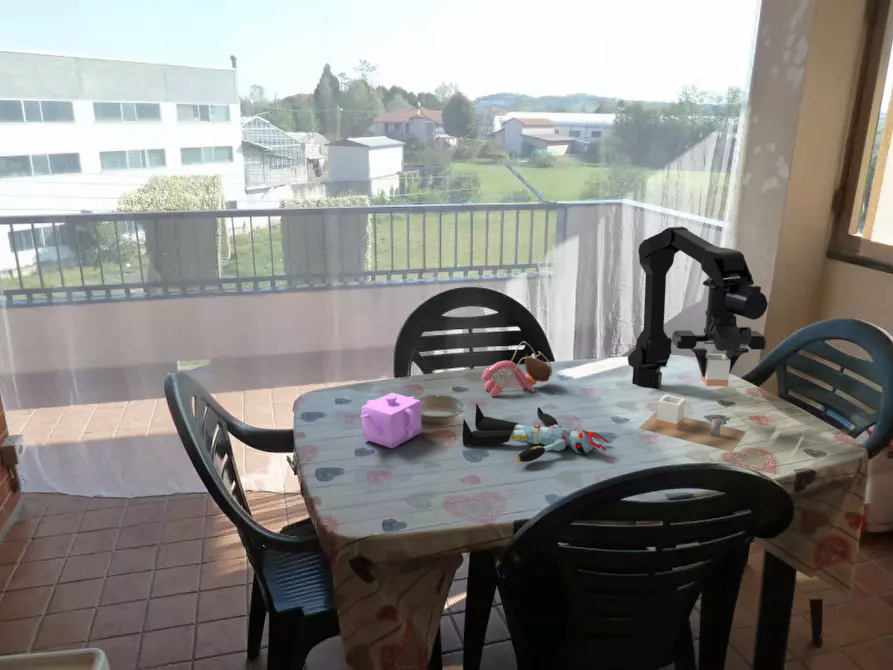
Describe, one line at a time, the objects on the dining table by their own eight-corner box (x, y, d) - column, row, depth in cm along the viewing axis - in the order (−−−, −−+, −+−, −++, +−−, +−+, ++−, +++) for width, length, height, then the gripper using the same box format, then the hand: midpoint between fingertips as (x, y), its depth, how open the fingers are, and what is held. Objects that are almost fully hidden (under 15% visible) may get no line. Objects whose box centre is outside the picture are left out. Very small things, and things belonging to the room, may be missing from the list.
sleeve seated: (656, 425, 151) (658, 400, 149) (663, 418, 155) (665, 394, 153) (676, 430, 148) (678, 405, 147) (683, 423, 152) (685, 398, 150)
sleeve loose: (706, 385, 148) (708, 360, 146) (700, 378, 152) (703, 353, 150) (727, 386, 147) (730, 360, 146) (721, 379, 152) (724, 354, 150)
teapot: (384, 463, 138) (382, 418, 135) (337, 445, 146) (334, 403, 143) (437, 433, 152) (437, 391, 149) (392, 418, 160) (390, 379, 157)
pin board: (638, 433, 150) (639, 413, 149) (657, 415, 159) (658, 397, 158) (730, 456, 139) (733, 436, 137) (745, 436, 148) (747, 416, 146)
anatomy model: (467, 375, 177) (507, 326, 177) (506, 405, 183) (545, 358, 183) (482, 390, 167) (524, 338, 166) (523, 421, 173) (564, 371, 173)
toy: (487, 389, 160) (615, 398, 150) (489, 419, 163) (615, 430, 152) (450, 432, 137) (598, 447, 127) (452, 466, 140) (598, 484, 129)
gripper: (686, 317, 138) (681, 388, 142) (780, 318, 137) (771, 389, 141) (673, 305, 149) (668, 371, 153) (760, 305, 147) (752, 372, 151)
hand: (714, 376), depth 149 cm, fingers closed on sleeve loose, 5 cm apart
